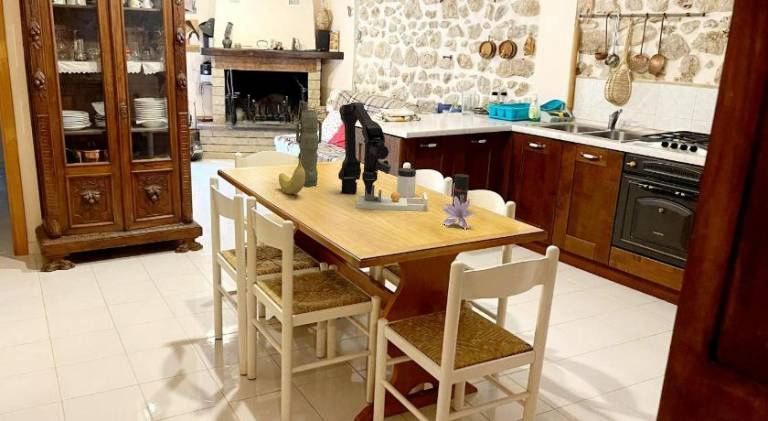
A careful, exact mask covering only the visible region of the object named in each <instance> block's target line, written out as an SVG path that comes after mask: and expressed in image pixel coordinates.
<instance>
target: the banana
mask: <svg viewBox="0 0 768 421" xmlns="http://www.w3.org/2000/svg"><path fill="white" fill-rule="evenodd" d="M297 155H298V156H297V158H298V164H297V166H296V168H295V169H294V171H293V173H292V176H291V177H288V175H286V174H285V173H282V172H281V173H279V174H278V183H279V185H280V188H281V190H282V191H283V192H284V193H286V194H289V195H295V194H297V193H299V192H301V191H302V189H303V188H304V187H303V186H304V183H305V171H304V169H303V167H302V164H301V159H302V153H300V152H299V153H298V154H297Z"/></svg>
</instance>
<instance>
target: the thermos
mask: <svg viewBox="0 0 768 421" xmlns="http://www.w3.org/2000/svg"><path fill="white" fill-rule="evenodd" d="M295 126H296V127H295V141H296V143H297V144H298V148H299V153H302V159H301V164H302V167H303V169H304V171H305V183H304V186H305V187H304V188H312V187H311V186H315V187H317V186H318V179H319V178H318V177H319V176H318V175H319V172H318V169H317V168H318V167H317V165H318V164H317V163H318V150H319V144H321V143H322V139H323V138H322V134H323V133H322V131H323V124H322V122H321V121H320V120H318V114H317V111H315V110H312V109H304V110H302V113H301V116H300V119H299V120H297V122H296V124H295ZM300 129H301V130H300ZM316 185H317V186H316Z"/></svg>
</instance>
